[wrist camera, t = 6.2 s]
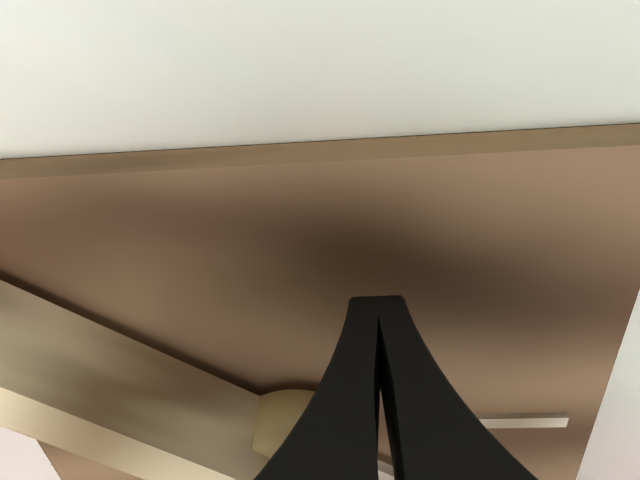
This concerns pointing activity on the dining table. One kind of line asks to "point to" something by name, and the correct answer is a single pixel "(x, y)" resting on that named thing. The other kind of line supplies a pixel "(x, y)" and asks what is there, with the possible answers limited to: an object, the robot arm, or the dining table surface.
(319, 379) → the dial board
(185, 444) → the dial lever
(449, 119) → the dining table surface
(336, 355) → the robot arm
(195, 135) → the dining table surface
